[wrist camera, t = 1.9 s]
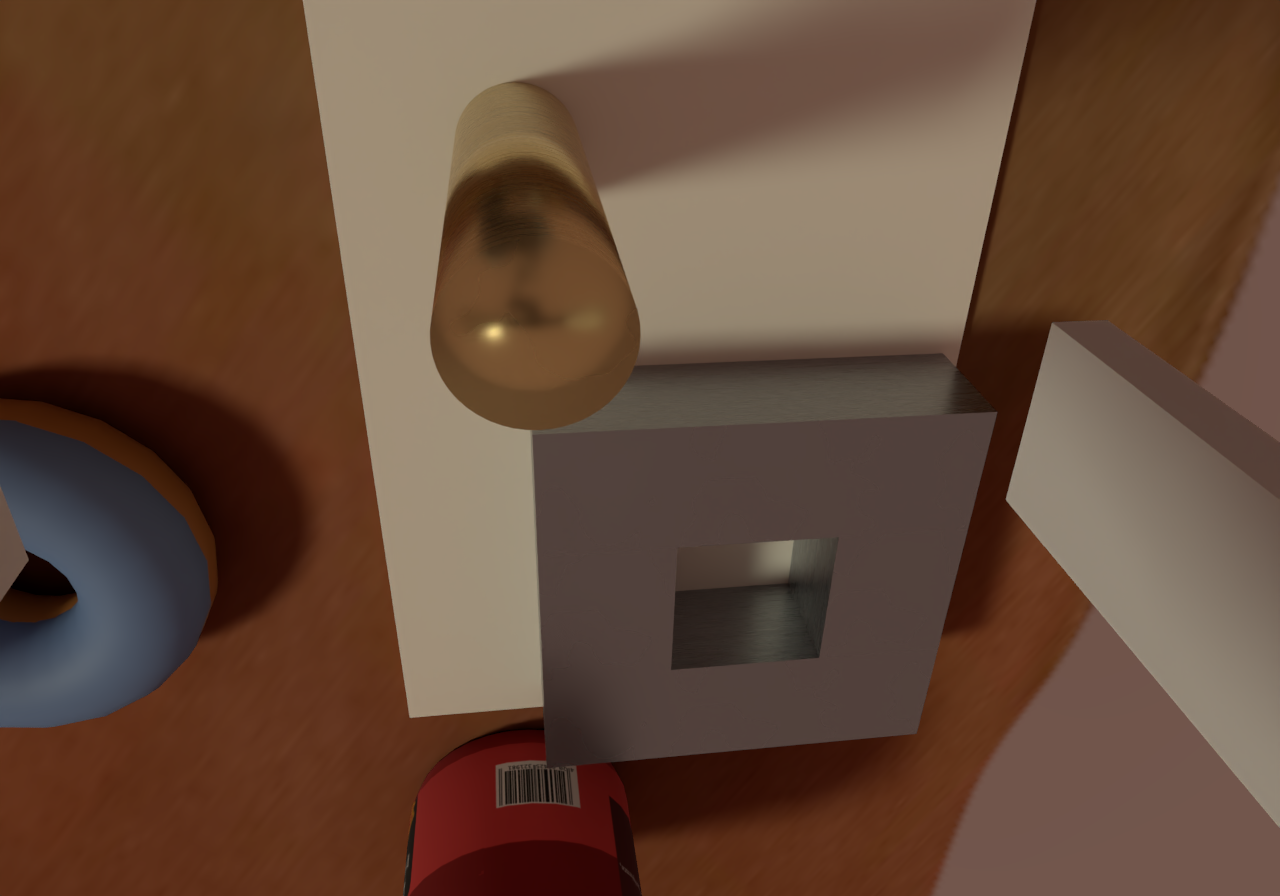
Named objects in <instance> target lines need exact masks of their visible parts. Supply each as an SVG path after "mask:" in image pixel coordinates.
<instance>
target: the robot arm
mask: <svg viewBox="0 0 1280 896" xmlns="http://www.w3.org/2000/svg"><path fill="white" fill-rule="evenodd" d="M1006 501H1007V502H1008V503H1009V504H1010V506H1011V507H1012V508H1013V509H1014V510H1015V512H1016V513H1017V514H1018V515H1019V516H1020V518H1021V519H1022V520H1023V521H1024V522H1025V524H1026V525H1027V526H1028V527H1029V528H1030V530H1031V531H1032V532H1033V533H1034V534H1035V536H1036V537H1037V538H1038V539H1039V540H1040V542H1041V543H1042V544H1043V545H1044V546H1045V548H1046V549H1047V550H1048V551H1049V552H1050V554H1051V555H1052V556H1053V557H1054V558H1055V560H1056V561H1057V562H1058V563H1059V564H1060V566H1061V567H1062V568H1063V569H1064V570H1065V571H1066V573H1067V574H1068V575H1069V576H1070V577H1071V579H1072V580H1073V581H1074V582H1075V583H1076V585H1077V586H1078V587H1079V588H1080V589H1081V591H1082V592H1083V593H1084V594H1085V595H1086V597H1087V598H1088V599H1089V600H1090V601H1091V603H1092V604H1093V605H1094V606H1095V607H1096V609H1097V610H1098V611H1099V612H1100V613H1101V614H1102V616H1103V617H1104V618H1105V619H1106V621H1107V622H1108V623H1109V624H1110V625H1111V627H1112V628H1113V629H1114V630H1115V631H1116V633H1117V634H1118V635H1119V636H1120V637H1121V638H1122V639H1123V641H1124V642H1125V643H1126V644H1127V645H1128V647H1129V648H1130V649H1131V650H1132V652H1133V653H1134V654H1135V655H1136V656H1137V658H1138V659H1139V660H1140V661H1141V662H1142V664H1143V665H1144V666H1145V667H1146V668H1147V670H1148V671H1149V672H1150V673H1151V674H1152V675H1153V677H1154V678H1155V679H1156V680H1157V682H1158V683H1159V684H1160V685H1161V686H1162V688H1164V690H1165V691H1166V692H1167V694H1168V695H1169V696H1170V697H1171V698H1172V700H1173V701H1174V702H1175V703H1176V704H1177V705H1178V707H1179V708H1180V709H1181V710H1182V711H1183V713H1184V714H1185V715H1186V716H1187V717H1188V719H1189V720H1190V721H1191V722H1192V723H1193V724H1194V726H1195V727H1196V728H1197V729H1198V731H1199V732H1200V733H1201V734H1202V735H1203V737H1204V738H1205V739H1206V740H1207V741H1208V743H1209V744H1210V745H1211V746H1212V747H1213V749H1214V750H1215V751H1216V752H1217V753H1218V754H1219V756H1220V757H1221V758H1222V759H1223V761H1224V762H1225V763H1226V764H1227V765H1228V767H1229V768H1230V769H1231V770H1232V771H1233V773H1234V774H1235V775H1236V776H1237V777H1238V779H1239V780H1240V781H1241V782H1242V783H1243V785H1244V786H1245V787H1246V788H1247V789H1248V790H1249V792H1250V793H1251V794H1252V795H1253V796H1254V798H1255V799H1256V800H1257V801H1258V802H1259V804H1260V805H1261V806H1262V807H1263V808H1264V810H1265V811H1266V812H1267V813H1268V814H1269V816H1270V817H1271V818H1272V819H1273V820H1274V822H1275V823H1276V824H1277V825H1278V826H1279V828H1280V442H1278V441H1277V440H1276V439H1274V438H1273V437H1271V436H1270V435H1269V434H1267V433H1266V432H1264V431H1263V430H1262V429H1260V428H1259V427H1257V426H1256V425H1254V424H1253V423H1252V422H1250V421H1249V420H1247V419H1246V418H1244V417H1243V416H1242V415H1240V414H1239V413H1237V412H1236V411H1235V410H1233V409H1232V408H1230V407H1229V406H1227V405H1226V404H1225V403H1223V402H1222V401H1221V400H1219V399H1217V398H1216V397H1215V396H1213V395H1212V394H1211V393H1209V392H1208V391H1206V390H1205V389H1204V388H1202V387H1201V386H1199V385H1198V384H1197V383H1195V382H1194V381H1192V380H1191V379H1189V378H1188V377H1187V376H1185V375H1184V374H1182V373H1181V372H1180V371H1178V370H1177V369H1175V368H1174V367H1173V366H1171V365H1170V364H1168V363H1167V362H1165V361H1164V360H1163V359H1161V358H1160V357H1158V356H1157V355H1156V354H1154V353H1153V352H1151V351H1150V350H1149V349H1147V348H1146V347H1144V346H1143V345H1141V344H1140V343H1139V342H1137V341H1136V340H1134V339H1133V338H1132V337H1130V336H1129V335H1127V334H1126V333H1124V332H1123V331H1122V330H1120V329H1119V328H1117V327H1116V326H1115V325H1113V324H1112V323H1110V322H1109V321H1108V320H1100V321H1073V322H1052V325H1051V328H1050V332H1049V336H1048V340H1047V344H1046V348H1045V351H1044V355H1043V359H1042V363H1041V367H1040V371H1039V374H1038V378H1037V382H1036V386H1035V390H1034V393H1033V397H1032V401H1031V405H1030V409H1029V413H1028V416H1027V420H1026V424H1025V428H1024V432H1023V435H1022V439H1021V443H1020V447H1019V451H1018V455H1017V458H1016V462H1015V466H1014V470H1013V474H1012V477H1011V481H1010V485H1009V489H1008V493H1007V497H1006ZM28 560H29V559H28V556H27V554H26V551H25V548H24V546H23V543H22V541H21V538H20V536H19V533H18V530H17V528H16V525H15V523H14V520H13V517H12V515H11V512H10V510H9V507H8V505H7V502H6V499H5V497H4V494H3V492H2V489H1V487H0V601H1V600H2V598H3V597H4V595H5V594H6V593H7V591H8V590H9V588H10V587H11V585H12V584H13V582H14V581H15V579H16V578H17V576H18V575H19V574H20V572H21V571H22V569H23V568H24V566H25V565H26V563H27V562H28Z"/></svg>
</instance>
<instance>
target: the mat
mask: <svg viewBox="0 0 1280 896" xmlns="http://www.w3.org/2000/svg"><path fill="white" fill-rule="evenodd" d="M303 4H304V11H305V17H306V24H307V31H308V38H309V44H310V51H311V58H312V64H313V71H314V78H315V85H316V91H317V98H318V105H319V111H320V118H321V125H322V132H323V138H324V145H325V152H326V158H327V165H328V172H329V179H330V185H331V192H332V199H333V205H334V212H335V219H336V226H337V232H338V239H339V246H340V252H341V259H342V266H343V273H344V279H345V286H346V293H347V299H348V306H349V313H350V320H351V326H352V333H353V340H354V346H355V353H356V360H357V367H358V373H359V380H360V387H361V393H362V400H363V407H364V414H365V420H366V427H367V434H368V440H369V447H370V454H371V461H372V467H373V474H374V481H375V487H376V494H377V501H378V508H379V514H380V521H381V528H382V535H383V541H384V548H385V555H386V561H387V568H388V575H389V582H390V588H391V595H392V602H393V608H394V615H395V622H396V629H397V635H398V642H399V649H400V655H401V662H402V669H403V676H404V682H405V689H406V696H407V702H408V709H409V716H410V718H412V717H424V716H436V715H448V714H459V713H471V712H483V711H494V710H506V709H518V708H530V707H541V706H543V700H542V684H541V662H540V639H539V617H538V594H537V572H536V549H535V527H534V504H533V482H532V459H531V437H530V430H523V429H514V428H510V427H506V426H502V425H499V424H496V423H494V422H491V421H488V420H486V419H485V418H483V417H481V416H479V415H477V414H475V413H474V412H472V411H471V410H469V409H468V408H467V407H466V406H464V405H463V404H462V403H461V402H460V401H459V400H457V398H456V397H455V396H454V395H453V394H452V393H451V392H450V391H449V389H448V388H447V386H446V385H445V383H444V382H443V380H442V379H441V377H440V375H439V373H438V370H437V368H436V366H435V363H434V359H433V356H432V351H431V345H430V325H431V317H432V309H433V301H434V294H435V286H436V278H437V270H438V263H439V255H440V247H441V239H442V232H443V224H444V216H445V208H446V201H447V193H448V185H449V177H450V170H451V162H452V154H453V146H454V139H455V131H456V127H457V123H458V121H459V118H460V116H461V114H462V112H463V111H464V109H465V108H466V106H467V105H468V104H469V102H470V101H471V100H472V99H473V98H474V97H475V96H477V95H478V94H479V93H481V92H482V91H484V90H486V89H488V88H489V87H492V86H495V85H497V84H502V83H506V82H523V83H528V84H532V85H535V86H538V87H541V88H543V89H545V90H547V91H548V92H550V93H551V94H553V95H554V96H555V97H556V98H557V99H559V100H560V101H561V102H562V103H563V105H564V106H565V107H566V108H567V110H568V111H569V113H570V114H571V116H572V118H573V120H574V122H575V125H576V128H577V131H578V134H579V137H580V140H581V143H582V146H583V149H584V152H585V155H586V158H587V161H588V164H589V167H590V170H591V173H592V176H593V179H594V182H595V185H596V188H597V191H598V194H599V197H600V200H601V203H602V206H603V209H604V212H605V215H606V218H607V221H608V224H609V227H610V230H611V233H612V236H613V239H614V242H615V245H616V248H617V251H618V254H619V256H620V259H621V262H622V265H623V268H624V271H625V274H626V277H627V280H628V283H629V286H630V289H631V292H632V295H633V298H634V301H635V304H636V307H637V310H638V315H639V320H640V331H641V338H640V348H639V353H638V357H637V361H636V363H635V366H641V365H665V364H690V363H715V362H739V361H764V360H789V359H813V358H838V357H863V356H887V355H912V354H937V353H943V354H944V355H945V356H946V357H947V358H948V359H949V360H950V361H951V363H952V364H953V365H954V366H955V367H956V365H957V360H958V356H959V351H960V346H961V342H962V337H963V333H964V328H965V324H966V319H967V314H968V310H969V305H970V301H971V296H972V292H973V287H974V283H975V278H976V273H977V269H978V264H979V260H980V255H981V251H982V246H983V241H984V237H985V232H986V228H987V223H988V219H989V214H990V209H991V205H992V200H993V196H994V191H995V187H996V182H997V178H998V173H999V168H1000V164H1001V159H1002V155H1003V150H1004V146H1005V141H1006V136H1007V132H1008V127H1009V123H1010V118H1011V114H1012V109H1013V104H1014V100H1015V95H1016V91H1017V86H1018V82H1019V77H1020V72H1021V68H1022V63H1023V59H1024V54H1025V50H1026V45H1027V41H1028V36H1029V31H1030V27H1031V22H1032V18H1033V13H1034V9H1035V4H1036V0H303ZM793 542H794V540H789V541H774V542H759V543H744V544H728V545H713V546H698V547H682V548H678V550H677V569H676V587H675V591H685V590H699V589H713V588H727V587H741V586H755V585H769V584H784V583H788V580H789V572H790V565H791V557H792V550H793Z"/></svg>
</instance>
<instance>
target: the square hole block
mask: <svg viewBox="0 0 1280 896" xmlns="http://www.w3.org/2000/svg"><path fill="white" fill-rule="evenodd" d="M996 416H997V411H996V410H995V409H994V408H993V407H992V406H991V404H990V403H989V402H988V401H987V400H986V399H985V398H984V397H983V396H982V395H981V394H980V393H979V392H978V390H977V389H976V388H975V387H974V386H973V385H972V384H971V383H970V382H969V381H968V380H967V379H966V378H965V377H964V375H963V374H962V373H961V372H960V371H959V370H958V369H957V368H956V367H955V366H954V365H953V364H952V363H951V361H950V360H949V359H948V358H947V357H946V356H945V355H944V354H943V353H937V354H912V355H887V356H863V357H838V358H813V359H789V360H764V361H739V362H715V363H690V364H665V365H641V366H634V368H633V371H632V373H631V375H630V377H629V378H628V380H627V382H626V383H625V385H624V386H623V388H622V389H621V390H620V392H619V393H618V394H617V395H616V396H615V397H614V398H613V399H612V400H611V401H610V402H609V403H608V404H607V405H605V406H604V407H603V408H602V409H600V410H599V411H597V412H596V413H594V414H593V415H591V416H589V417H587V418H585V419H583V420H581V421H579V422H576V423H573V424H570V425H567V426H564V427H559V428H555V429H547V430H530V437H531V459H532V482H533V504H534V527H535V549H536V572H537V594H538V617H539V639H540V662H541V684H542V700H543V716H544V732H545V748H546V764H547V768H555V767H566V766H577V765H587V764H598V763H609V762H619V761H630V760H641V759H651V758H662V757H673V756H683V755H694V754H705V753H715V752H726V751H737V750H748V749H758V748H769V747H780V746H790V745H801V744H812V743H822V742H833V741H844V740H854V739H865V738H876V737H887V736H897V735H908V734H917V730H918V726H919V722H920V718H921V714H922V710H923V706H924V702H925V698H926V694H927V690H928V686H929V682H930V678H931V674H932V670H933V666H934V662H935V658H936V654H937V650H938V646H939V642H940V638H941V634H942V630H943V626H944V622H945V619H946V615H947V611H948V607H949V603H950V599H951V595H952V591H953V587H954V583H955V579H956V575H957V571H958V567H959V563H960V559H961V555H962V551H963V547H964V543H965V539H966V535H967V531H968V527H969V523H970V519H971V515H972V511H973V507H974V503H975V499H976V495H977V491H978V487H979V483H980V479H981V475H982V471H983V467H984V463H985V459H986V455H987V451H988V448H989V444H990V440H991V436H992V432H993V428H994V424H995V420H996ZM789 540H794V542H793V550H792V557H791V565H790V572H789V580H788V583H784V584H769V585H755V586H741V587H727V588H713V589H699V590H685V591H675V587H676V569H677V550H678V548H682V547H698V546H713V545H728V544H744V543H759V542H774V541H789Z"/></svg>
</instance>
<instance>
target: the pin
mask: <svg viewBox="0 0 1280 896" xmlns="http://www.w3.org/2000/svg"><path fill="white" fill-rule="evenodd" d="M640 338H641V331H640V320H639V315H638V310H637V307H636V304H635V301H634V298H633V295H632V292H631V289H630V286H629V283H628V280H627V277H626V274H625V271H624V268H623V265H622V262H621V259H620V256H619V254H618V251H617V248H616V245H615V242H614V239H613V236H612V233H611V230H610V227H609V224H608V221H607V218H606V215H605V212H604V209H603V206H602V203H601V200H600V197H599V194H598V191H597V188H596V185H595V182H594V179H593V176H592V173H591V170H590V167H589V164H588V161H587V158H586V155H585V152H584V149H583V146H582V143H581V140H580V137H579V134H578V131H577V128H576V125H575V122H574V120H573V118H572V116H571V114H570V113H569V111H568V110H567V108H566V107H565V106H564V105H563V103H562V102H561V101H560V100H559V99H557V98H556V97H555V96H554V95H553V94H551V93H550V92H548V91H547V90H545V89H543V88H541V87H538V86H535V85H532V84H528V83H523V82H506V83H502V84H497V85H495V86H492V87H489V88H488V89H486V90H484V91H482V92H481V93H479V94H478V95H477V96H475V97H474V98H473V99H472V100H471V101H470V102H469V104H468V105H467V106H466V108H465V109H464V111H463V112H462V114H461V116H460V118H459V121H458V123H457V127H456V131H455V139H454V146H453V154H452V162H451V170H450V177H449V185H448V193H447V201H446V208H445V216H444V224H443V232H442V239H441V247H440V255H439V263H438V270H437V278H436V286H435V294H434V301H433V309H432V317H431V325H430V345H431V351H432V356H433V359H434V363H435V366H436V368H437V370H438V373H439V375H440V377H441V379H442V380H443V382H444V383H445V385H446V386H447V388H448V389H449V391H450V392H451V393H452V394H453V395H454V396H455V397H456V398H457V400H459V401H460V402H461V403H462V404H463V405H464V406H466V407H467V408H468V409H469V410H471V411H472V412H474V413H475V414H477V415H479V416H481V417H483V418H485V419H486V420H488V421H491V422H494V423H496V424H499V425H502V426H506V427H510V428H514V429H523V430H547V429H555V428H559V427H564V426H567V425H570V424H573V423H576V422H579V421H581V420H583V419H585V418H587V417H589V416H591V415H593V414H594V413H596V412H597V411H599V410H600V409H602V408H603V407H604V406H605V405H607V404H608V403H609V402H610V401H611V400H612V399H613V398H614V397H615V396H616V395H617V394H618V393H619V392H620V390H621V389H622V388H623V386H624V385H625V383H626V382H627V380H628V378H629V377H630V375H631V373H632V371H633V368H634V366H635V363H636V361H637V357H638V353H639V348H640Z"/></svg>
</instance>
